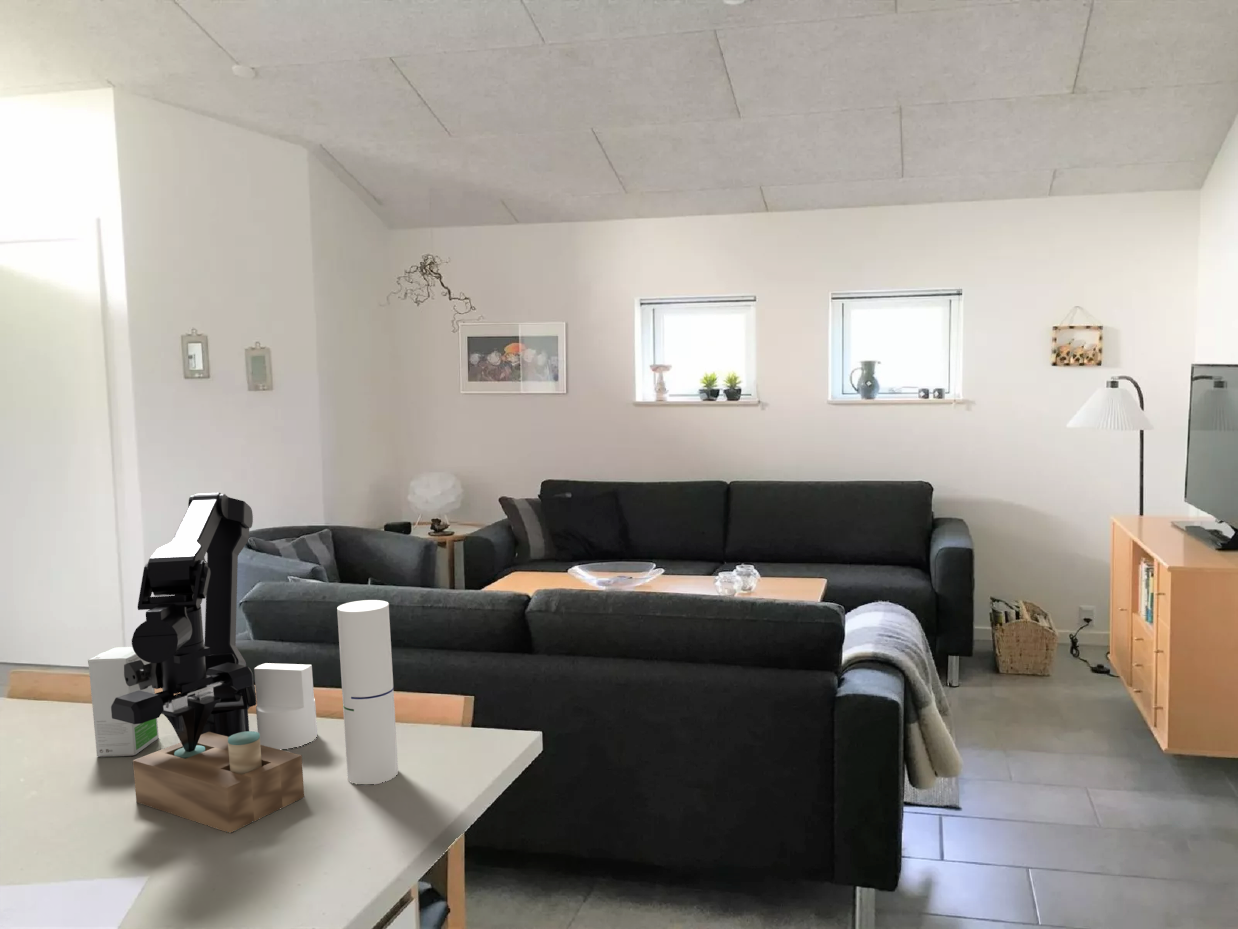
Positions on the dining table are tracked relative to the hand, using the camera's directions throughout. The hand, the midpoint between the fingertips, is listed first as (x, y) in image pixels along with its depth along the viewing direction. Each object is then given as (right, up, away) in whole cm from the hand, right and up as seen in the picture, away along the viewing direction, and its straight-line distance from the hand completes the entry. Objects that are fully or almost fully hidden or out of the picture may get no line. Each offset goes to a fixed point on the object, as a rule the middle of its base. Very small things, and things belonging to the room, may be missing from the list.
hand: (189, 750), depth 139 cm
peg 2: (+10, -2, -6) cm, 12 cm away
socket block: (+5, -6, -3) cm, 8 cm away
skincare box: (-18, -5, +19) cm, 26 cm away
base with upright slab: (+7, -4, +20) cm, 21 cm away
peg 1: (0, -6, +1) cm, 6 cm away
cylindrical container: (+25, -5, +4) cm, 26 cm away
